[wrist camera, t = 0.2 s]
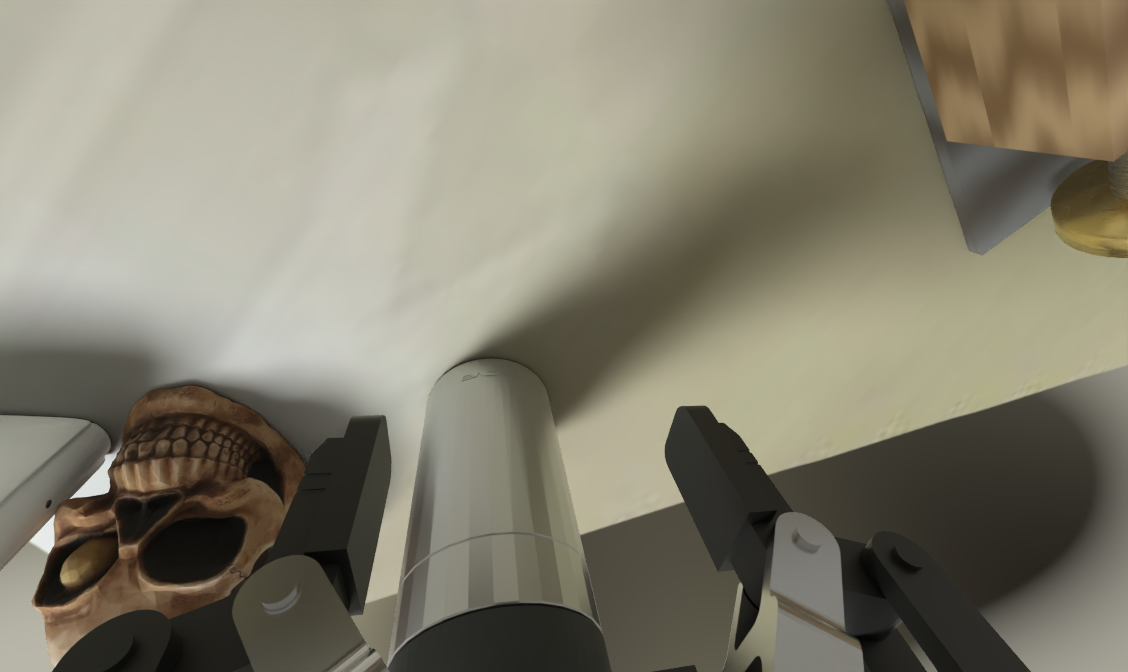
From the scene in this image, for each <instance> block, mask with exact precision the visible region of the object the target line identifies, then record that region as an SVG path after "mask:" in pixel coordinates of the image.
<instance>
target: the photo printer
mask: <svg viewBox="0 0 1128 672" xmlns="http://www.w3.org/2000/svg"><path fill="white" fill-rule="evenodd" d="M110 447H111V441H110V438H109V436H108V435H107V433H106V432H105V431H104V430H103V429H102V428H101V427H100V426H98V425H97V424H95V423H91V422H90V421H87V420H82V419H75V418H61V417H40V416H9V415H0V571H1V569H3V567H4V566H5V565H6V564H7V563H8V562H9V561H10V560H11V559H12V558H13V557H14V556H15V555H16V554H17V553H18V552H19V551H20V550H21V549H22V548H23V547H24V546H25V545H26V544H27V543H28V542H29V540H30V539H31V538H32V537H33V536H34V535H35V534H36V533H37V532H38V531H39V530H40V529H41V528H42V527H43V526H44V525H45V524H46V523H47V522H48V521H49V520H50V519H51V518H52V516H53V515H54V514H55V513H56V510H57V508H58V506H59V505H60V504H61V503H62V502H64V501H65V500H69V499H70V498H71V497H72V496H73V495H74V494H75V493H76V492H77V491H78V490H79V489H80V488H81V487H82V486H83V485H84V484H85V483H86V481H87V480H88V479H89V478H90V477H91V476H92V475H93V474H94V473H95V472H96V471H97V470H98V469H99V468H100V467H101V466H102V464H103V463H104V461H105V457H104V456H105V455H106V454H107V453H108V451H109V450H110Z"/></svg>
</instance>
